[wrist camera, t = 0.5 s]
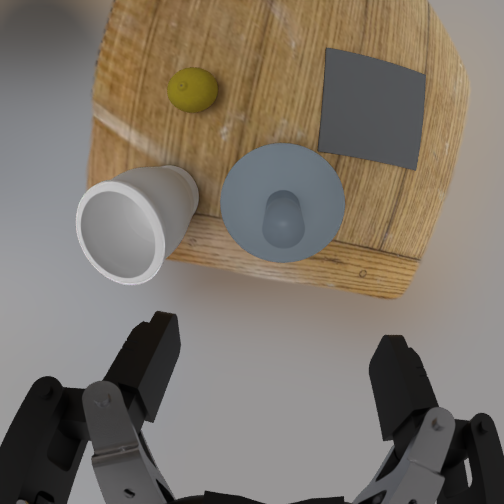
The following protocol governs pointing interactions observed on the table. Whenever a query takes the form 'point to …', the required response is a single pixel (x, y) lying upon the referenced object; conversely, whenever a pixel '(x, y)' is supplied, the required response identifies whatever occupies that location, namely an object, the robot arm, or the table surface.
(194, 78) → the lemon
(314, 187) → the lid
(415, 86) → the mat
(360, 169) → the table surface
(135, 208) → the jar
